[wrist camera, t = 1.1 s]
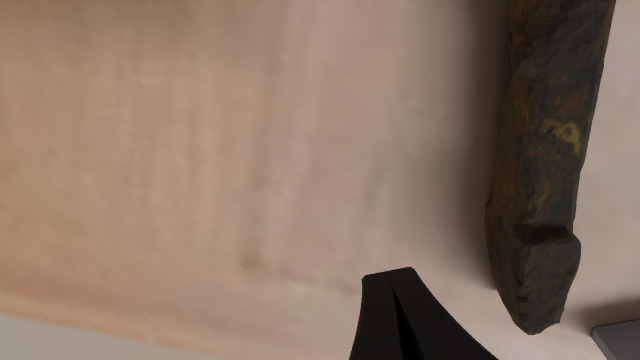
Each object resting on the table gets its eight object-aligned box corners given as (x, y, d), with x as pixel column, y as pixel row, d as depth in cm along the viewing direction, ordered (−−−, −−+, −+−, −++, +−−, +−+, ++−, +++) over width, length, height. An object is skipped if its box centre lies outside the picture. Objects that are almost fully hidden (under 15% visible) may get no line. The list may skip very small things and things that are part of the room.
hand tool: (494, -137, 17) (556, -153, 13) (608, -140, 18) (704, -157, 13) (445, 292, 26) (474, 362, 22) (522, 288, 26) (564, 357, 22)
